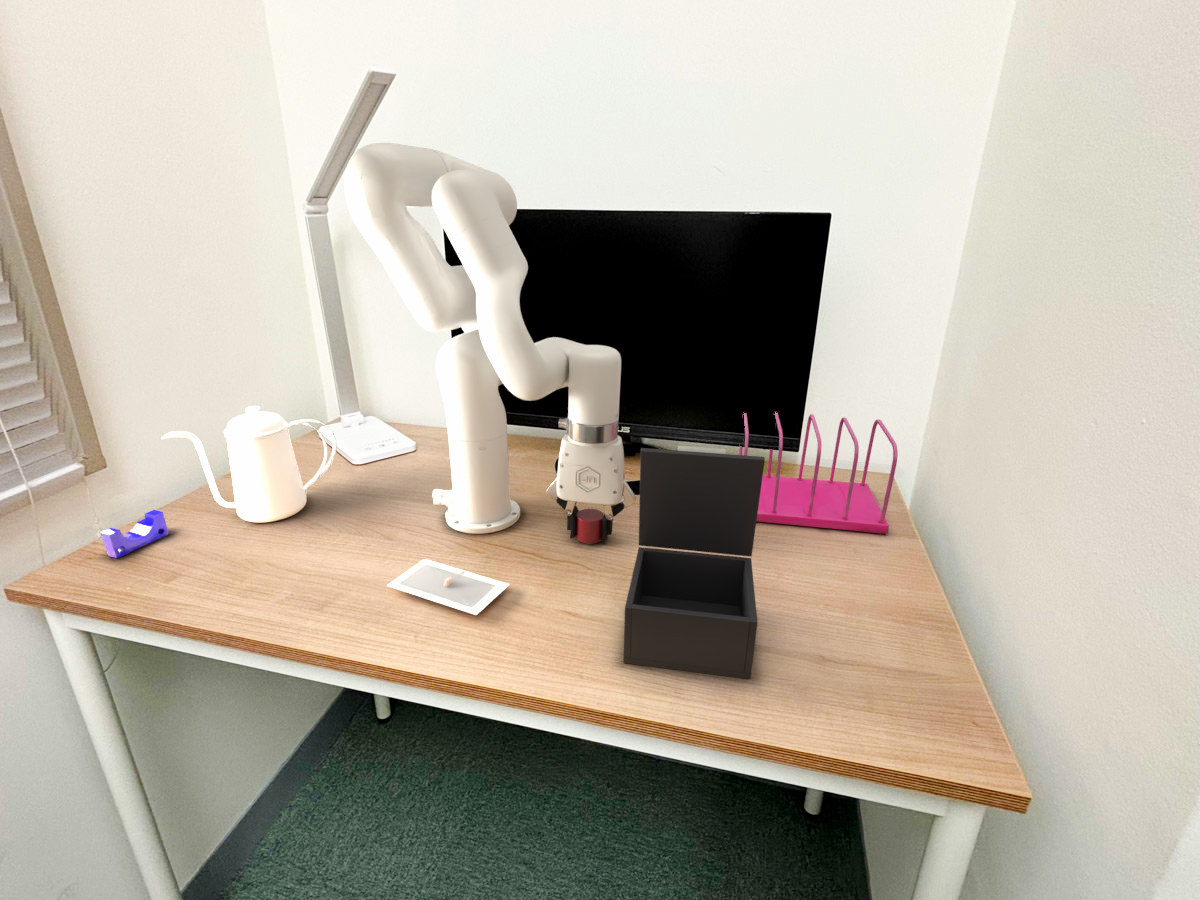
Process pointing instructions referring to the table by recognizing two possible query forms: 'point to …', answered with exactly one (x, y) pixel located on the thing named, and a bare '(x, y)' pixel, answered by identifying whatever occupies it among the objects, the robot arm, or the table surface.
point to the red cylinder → (589, 525)
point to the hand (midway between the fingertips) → (589, 534)
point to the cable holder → (135, 535)
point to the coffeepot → (262, 466)
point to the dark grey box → (691, 613)
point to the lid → (699, 499)
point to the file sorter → (823, 490)
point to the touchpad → (449, 586)
